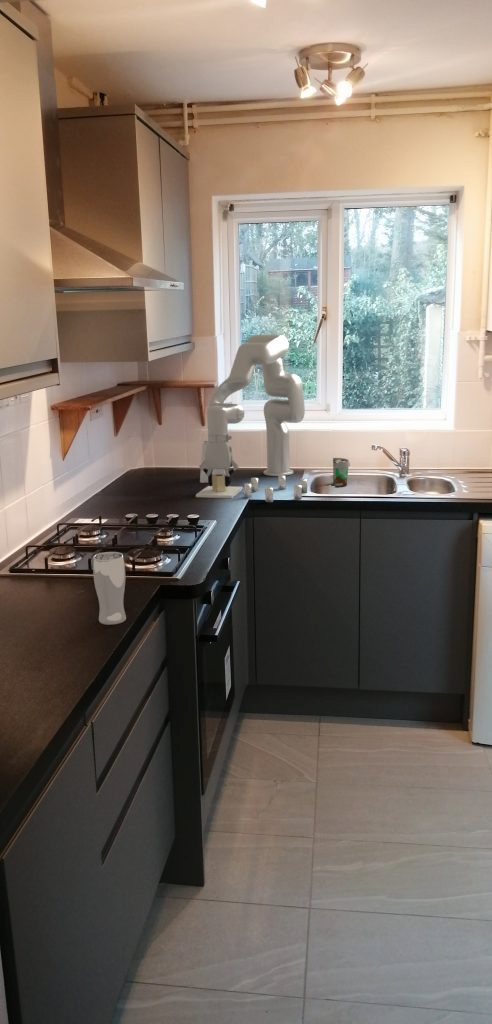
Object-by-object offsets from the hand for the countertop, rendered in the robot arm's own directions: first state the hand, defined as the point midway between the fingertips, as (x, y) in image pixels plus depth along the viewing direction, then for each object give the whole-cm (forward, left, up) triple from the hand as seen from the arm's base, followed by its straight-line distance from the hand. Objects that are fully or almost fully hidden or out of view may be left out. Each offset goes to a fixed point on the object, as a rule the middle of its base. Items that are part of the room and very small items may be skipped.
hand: (219, 485), depth 311 cm
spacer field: (0, +22, -3) cm, 22 cm away
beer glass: (+133, +14, -3) cm, 134 cm away
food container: (-21, +44, -3) cm, 49 cm away
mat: (0, 0, -3) cm, 3 cm away
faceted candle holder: (0, 0, -2) cm, 2 cm away
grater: (-25, -10, -3) cm, 27 cm away
